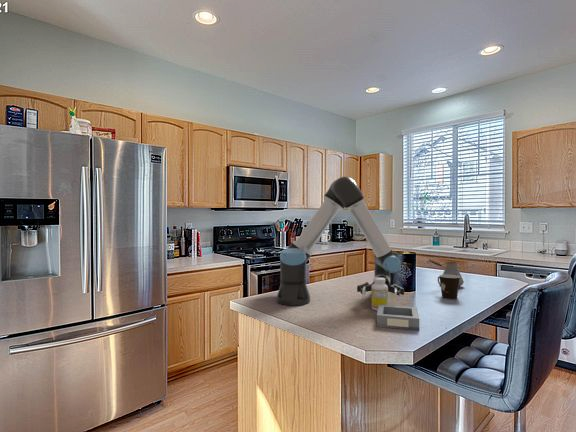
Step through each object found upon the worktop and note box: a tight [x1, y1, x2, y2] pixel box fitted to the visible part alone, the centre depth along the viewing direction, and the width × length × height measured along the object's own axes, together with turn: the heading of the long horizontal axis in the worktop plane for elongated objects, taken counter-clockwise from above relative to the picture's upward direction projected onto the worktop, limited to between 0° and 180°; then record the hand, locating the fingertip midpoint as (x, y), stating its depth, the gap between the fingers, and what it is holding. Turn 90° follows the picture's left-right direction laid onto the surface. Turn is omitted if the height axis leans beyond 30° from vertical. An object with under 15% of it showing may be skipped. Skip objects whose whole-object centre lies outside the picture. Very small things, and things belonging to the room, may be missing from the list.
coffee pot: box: [427, 259, 465, 288], centre depth 179 cm, size 21×12×15 cm, turn 109°
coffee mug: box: [437, 274, 460, 300], centre depth 159 cm, size 12×9×10 cm
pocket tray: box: [376, 304, 420, 331], centre depth 123 cm, size 14×14×4 cm
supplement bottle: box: [370, 277, 389, 312], centre depth 139 cm, size 7×7×13 cm
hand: (379, 294), depth 136 cm, fingers open, 12 cm apart
